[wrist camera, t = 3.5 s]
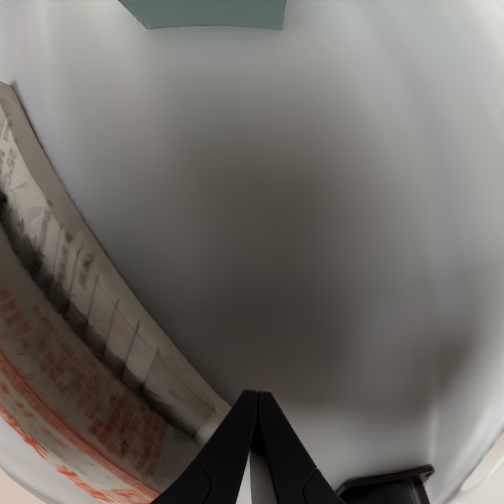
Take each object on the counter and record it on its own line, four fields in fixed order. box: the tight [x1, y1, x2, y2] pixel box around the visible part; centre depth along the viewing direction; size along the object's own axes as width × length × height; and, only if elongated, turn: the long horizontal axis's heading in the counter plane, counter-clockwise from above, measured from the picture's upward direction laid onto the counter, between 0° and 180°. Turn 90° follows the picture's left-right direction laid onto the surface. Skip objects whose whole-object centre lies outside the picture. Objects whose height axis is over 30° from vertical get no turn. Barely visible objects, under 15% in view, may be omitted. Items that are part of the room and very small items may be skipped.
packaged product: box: [0, 82, 250, 504], centre depth 7 cm, size 18×5×10 cm
